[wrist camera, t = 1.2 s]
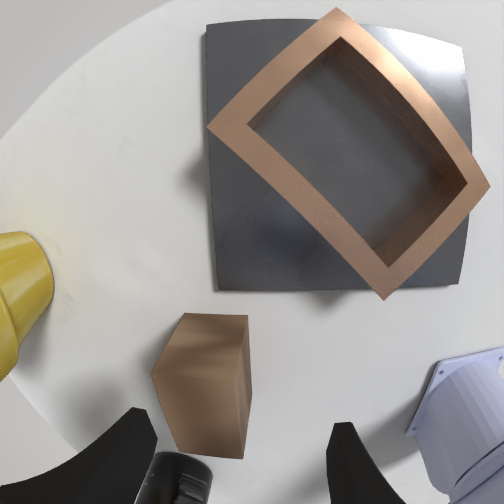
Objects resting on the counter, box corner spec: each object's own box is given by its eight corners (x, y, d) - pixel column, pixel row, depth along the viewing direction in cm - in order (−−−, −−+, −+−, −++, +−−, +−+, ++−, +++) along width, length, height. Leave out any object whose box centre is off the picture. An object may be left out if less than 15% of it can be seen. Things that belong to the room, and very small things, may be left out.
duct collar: (453, 280, 16) (477, 301, 13) (220, 285, 17) (208, 311, 14) (456, 50, 11) (482, 37, 8) (208, 28, 12) (194, 5, 9)
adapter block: (248, 314, 18) (233, 381, 12) (252, 394, 20) (242, 459, 14) (185, 312, 18) (150, 373, 12) (199, 390, 20) (178, 451, 14)
